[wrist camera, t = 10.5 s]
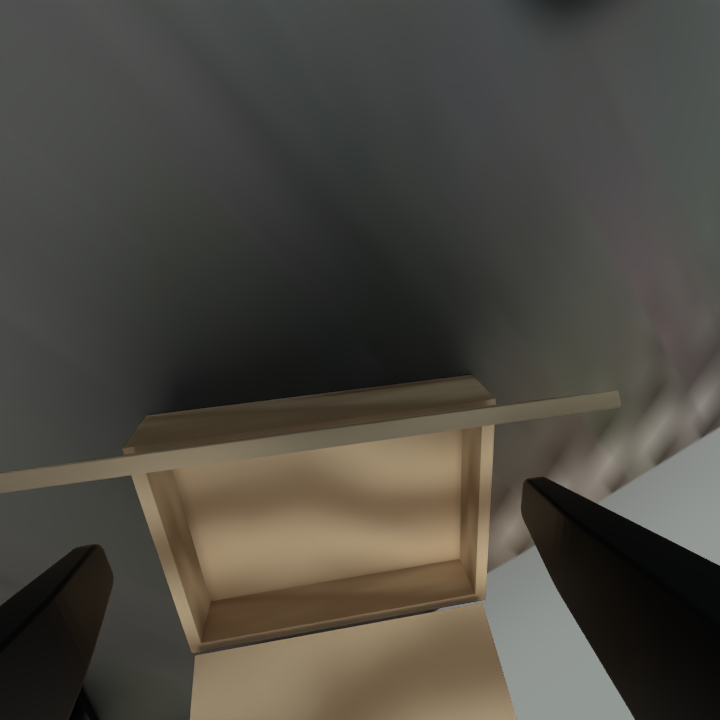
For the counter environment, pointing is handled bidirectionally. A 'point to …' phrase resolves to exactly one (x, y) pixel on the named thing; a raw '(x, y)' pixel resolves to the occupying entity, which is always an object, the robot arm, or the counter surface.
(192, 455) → the flap near
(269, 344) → the counter surface
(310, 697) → the flap far
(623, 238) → the counter surface
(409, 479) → the carton
